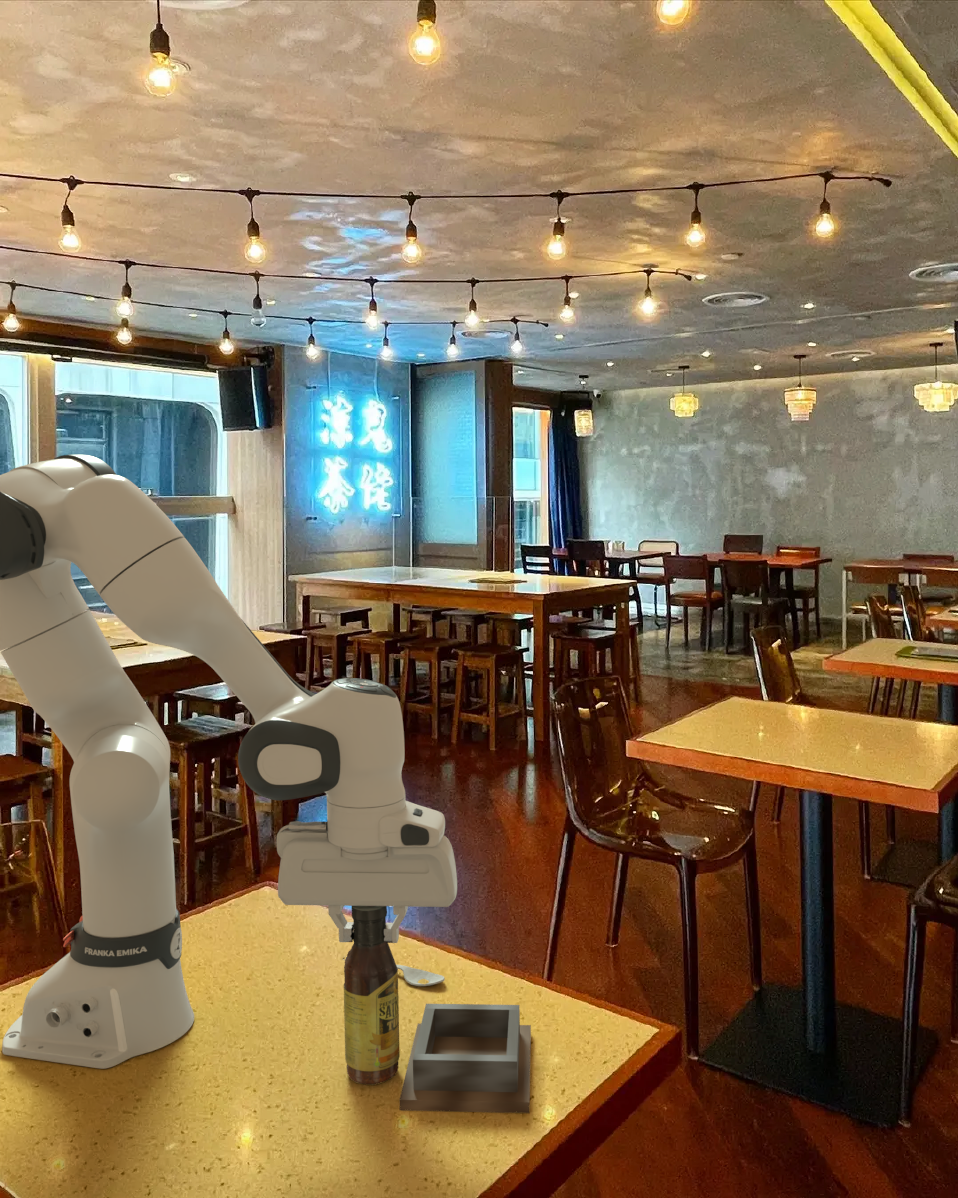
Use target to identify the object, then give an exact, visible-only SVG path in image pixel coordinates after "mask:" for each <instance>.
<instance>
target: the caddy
mask: <svg viewBox="0 0 958 1198" xmlns="http://www.w3.org/2000/svg"><path fill="white" fill-rule="evenodd" d="M424 1007H425V1008H424V1010H423V1014H422V1019H421V1022H420V1023H417V1025H416V1030H415V1034H414V1038H413V1042H412V1046H411V1050H410V1055H409V1057H408V1058H409V1059H408V1063H407V1066H406V1071H405V1074H404V1075H405V1076H404V1079H403V1084H402V1087H401V1088H402V1089H401V1091H400V1097H399V1099H398V1100H399V1111H409V1112H411V1111H414V1112H458V1113H459V1112H460V1113H462V1112H464V1113H467V1112H468V1113H500V1114H501V1113H507V1114H508V1113H511V1114H512V1113H513V1114H517V1113H518V1114H530V1109H531V1108H530V1106H531V1105H530V1101H531V1053H532V1052H531V1051H532V1050H531V1040H532V1039H531V1038H532V1029H531V1028H532V1027H531V1024H521V1020H520V1019H521V1018H520V1014H521V1013H520V1004H487V1003H486V1004H478V1003H477V1004H476V1003H475V1004H473V1003H470V1004H469V1003H466V1004H465V1003H425V1006H424Z"/></svg>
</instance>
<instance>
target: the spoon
mask: <svg viewBox="0 0 958 1198" xmlns="http://www.w3.org/2000/svg"><path fill="white" fill-rule="evenodd" d="M396 966H397V968H398V970H401V971H402V973H403V978H404V980H405V981H406V983H408V984H410V985H412V986H416V987H427V986H428V987H429V986H433V985H437V984H440V983H442V982H444V981H445V976H444V975H441V974H438V973H434V972H431V971H427V970H423V969H418V968H415V967H410V966H407V965H401V964H396ZM421 980H426V981H428V982H427V983H419V981H421Z"/></svg>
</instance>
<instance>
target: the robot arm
mask: <svg viewBox="0 0 958 1198" xmlns="http://www.w3.org/2000/svg"><path fill="white" fill-rule="evenodd" d="M72 563H73V564H74V565H75V566H76V567H78V569H79V570H80V571H81V572H82V573H83V574H84V576H85V577H86V579H87V580H88V582H89V583H90V585H91V586H92V587H93V588H94V590H95V591H96V593H97V594H98V595H99V596H100V598H101V599H102V600H103V602H104V603H105V604H106V606H107V607H108V608H109V609H110V610H111V612H112V613H113V614H114V615H115V617H117V619H118V620H120V622H122V624H124V625H125V626H126V627H127V628H129V630H131V631H132V632H133V633H134V634H135V635H137V636H138V637H139V638H140V639H141V640H143V641H146V642H148V643H151V644H154V645H159V646H165V647H170V648H172V649H177V650H180V651H183V652H186V653H188V654H190V655H193V656H195V657H197V658H199V659H200V660H201V661H203V662H204V663H206V664H207V665H208V666H209V667H211V669H213V670H214V672H215V673H216V674H217V675H218V676H219V677H220V678H221V680H222V681H223V682H224V683H225V685H226V686H227V687H228V688H229V689H230V690H231V692H232V693H233V694H234V695H235V696H236V697H237V698H238V699H239V701H240V702H241V703H242V704H243V705H244V707H245V708H246V709H247V710H248V711H249V712H250V714H251V716H252V718H253V719H254V723H255V724H254V725H252V726H251V728H249V730H248V732H247V733H245V735H244V737H243V738H242V740H241V743H240V745H239V749H238V753H237V762H238V769H239V772H240V774H241V777H242V779H243V781H244V782H245V783H246V785H247V786H248V787H249V788H250V790H251V791H253V792H255V793H256V794H257V795H258V796H261V797H263V798H265V799H269V800H274V801H287V800H294V799H300V798H306V797H311V796H317V795H320V794H322V793H325V794H326V815H327V816H326V817H327V818H326V819H327V821H309V822H303V821H290V822H289V823H288V824H286V825H285V826H282V827H281V828H280V829H279V830H278V832H277V834H276V851H277V854H278V856H279V857H280V862H279V863H280V864H279V872H278V880H277V881H278V882H277V885H278V886H277V895H278V898H279V900H280V901H281V902H282V903H283V905H285V906H286V905H287V906H327V907H328V911H327V912H328V917H330V919H331V920H332V922H333V924H334V925H335V926H336V928H337V929H338V941H339V943H354V941H353V936H354V927H353V921H348V920H347V919H346V917H345V915H344V913H343V912H342V911H343V910H344V907H346V906H347V907H348V906H349V907H350V906H351V907H352V906H387V907H392V909H393V910H392V911H393V915H395V918H394V920H393V922H386V925H385V927H384V936H385V937H384V943H388V944H398V942H399V937H400V928H399V927H400V926H401V924H402V922H403V921H404V919H405V917H406V915H407V912H408V909H409V908H411V907H412V908H413V907H414V908H416V907H417V908H418V907H419V908H425V907H426V908H429V907H430V908H448V907H450V906H451V905H452V904H453V903H454V901H455V900H456V897H457V894H458V877H457V876H458V875H457V866H456V858H455V854H454V850H453V849H454V848H453V846H452V843H451V842H450V839H449V838H447V836H446V835H445V830H446V819H445V815H444V814H443V812H441V811H438V810H435V809H432V808H429V807H426V806H423V805H420V804H416V803H413V802H411V801H408V800H406V789H405V787H404V786H405V785H404V783H403V778H402V772H403V771H402V770H403V766H404V763H405V731H404V721H403V713H402V708H401V703H400V701H399V698H398V696H397V694H396V693H395V692H394V691H393V690H392V688H391V687H389V686H388V685H385V684H383V683H380V682H378V681H375V680H370V679H366V678H364V679H363V678H359V677H358V678H356V677H355V678H352V677H351V678H348V677H347V678H346V677H345V678H338V679H335V680H333V681H331V683H330V684H329V685H328V686H326V687H325V688H323V689H322V690H321V691H319V692H317V693H314V692H312V691H310V690H309V689H307V688H305V687H304V686H302V685H301V684H299V683H298V682H297V681H295V680H294V679H293V677H292V676H290V674H288V672H287V671H286V670H285V669H284V667H283V666H282V665H281V664H280V663H279V662H278V661H277V659H276V658H275V657H274V656H273V654H271V652H270V651H269V650H268V648H267V647H266V646H265V645H264V644H263V643H262V642H261V640H260V639H259V638H258V637H257V635H256V634H255V633H254V632H253V631H252V630H251V629H250V627H249V626H248V625H247V624H246V623H245V621H244V620H243V619H242V618H241V617H240V615H239V614H238V612H237V611H236V609H235V608H234V606H233V605H232V603H231V602H230V601H229V600H228V598H227V596H226V595H225V594H224V592H223V591H222V589H221V588H220V586H219V585H218V583H217V582H216V580H215V577H213V575H212V573H211V572H210V571H209V569H208V567H207V566H206V564H205V563H204V562H203V560H202V559H201V557H200V556H199V555H198V553H197V552H196V550H195V549H194V547H193V546H192V545H191V543H190V542H189V541H188V540H187V538H185V535H184V534H183V533H182V532H181V531H180V530H179V528H178V527H177V526H176V525H175V523H174V522H173V521H172V520H171V519H170V518H169V517H168V515H167V514H166V513H165V512H164V511H163V510H162V509H161V508H160V507H159V506H158V505H157V504H156V503H155V502H154V501H153V500H152V498H150V496H148V495H147V494H146V493H145V492H144V491H142V490H141V488H139V487H138V486H137V485H136V484H135V483H134V482H132V481H131V480H130V479H128V478H126V477H124V476H121V475H119V474H117V473H116V471H114V470H113V468H112V467H111V466H110V465H109V464H107V463H106V462H105V461H103V460H102V459H101V458H98V457H95V456H93V455H89V454H78V453H77V454H63V455H59V456H57V457H55V458H53V459H47V460H43V461H37V462H32V463H28V464H23V465H21V466H17V467H15V468H12V469H11V470H9V471H8V472H5V473H2V474H0V654H1V656H2V658H3V660H4V661H5V663H6V665H7V666H8V668H9V670H10V672H11V673H12V675H13V677H14V679H15V680H16V682H17V683H18V685H19V687H20V689H21V690H22V692H23V694H24V696H25V698H26V699H27V701H28V703H29V704H30V706H31V708H32V709H33V710H34V712H35V713H36V714H37V715H39V716H40V718H41V719H43V720H44V721H45V723H46V724H47V725H48V727H49V728H50V729H51V730H52V732H53V733H54V734H55V735H56V737H57V738H58V739H59V741H60V742H61V744H62V745H63V746H64V747H65V749H66V750H67V752H68V754H69V755H70V757H71V759H72V760H73V765H72V767H71V770H70V773H69V774H70V775H69V791H70V804H71V813H72V821H73V828H74V829H73V831H74V836H75V843H76V849H77V855H78V862H79V873H80V875H79V876H80V888H81V890H80V891H81V908H82V909H81V910H82V911H81V913H82V915H81V916H80V918H79V920H78V921H79V922H78V923H76V924H75V925H74V926H72V927H71V928H70V930H69V931H70V932H69V933H67V934H66V935H65V937H63V939H62V941H64V943H63V946H62V947H63V948H66V947H67V946H69V944H70V948H71V949H70V951H69V952H68V953H67V954H65V955H64V956H63V957H62V958H61V959H59V960H58V961H57V962H56V963H55V964H53V966H51V967H50V968H49V969H47V971H45V972H44V973H43V974H42V975H41V976H40V977H39V978H38V979H37V980H36V981H35V982H34V983H33V985H32V986H31V988H30V989H29V991H28V992H27V994H26V996H25V998H24V1003H23V1009H22V1015H20V1016H19V1017H18V1018H17V1019H16V1020H15V1021H14V1022H13V1023H12V1024H11V1025H10V1027H9V1028H8V1030H7V1031H6V1033H5V1034H4V1036H3V1039H2V1054H3V1055H5V1056H12V1057H18V1058H25V1059H32V1060H39V1061H45V1062H46V1061H47V1062H52V1063H58V1064H59V1063H60V1064H67V1065H74V1066H80V1067H87V1068H92V1069H93V1068H95V1069H104V1070H105V1069H110V1068H112V1067H115V1066H116V1065H119V1064H121V1063H122V1062H125V1061H127V1060H128V1059H131V1058H134V1057H137V1056H140V1055H143V1054H148V1053H150V1052H154V1051H155V1050H156V1051H157V1050H159V1049H161V1048H163V1047H165V1046H167V1045H169V1044H171V1043H173V1042H175V1041H176V1040H178V1039H180V1038H181V1037H182V1036H184V1035H185V1034H187V1032H188V1031H189V1030H190V1029H191V1027H192V1026H193V1023H194V1021H195V1013H194V1011H193V1008H192V1005H191V1002H190V1000H189V997H188V996H189V995H188V993H187V990H186V989H187V988H186V985H185V980H184V975H183V969H182V963H181V957H182V950H183V934H182V927H181V916H180V915H181V914H180V911H179V910H178V909H177V901H176V900H177V899H176V878H175V876H176V875H175V873H176V872H175V854H174V844H173V843H174V842H173V830H172V829H173V828H172V816H171V815H172V812H171V796H170V770H171V769H170V768H171V764H170V763H171V755H172V754H171V747H170V746H171V745H170V743H169V740H168V738H167V737H166V735H165V733H164V731H163V729H162V728H161V726H160V724H159V722H158V721H157V719H156V717H155V716H154V714H153V713H152V711H151V709H150V708H149V707H148V705H147V703H146V701H145V700H144V698H143V697H142V696H141V694H140V693H139V690H138V689H137V688H136V686H135V684H134V683H133V682H132V680H131V679H130V677H129V676H128V675H127V673H126V672H125V670H124V669H123V667H122V665H121V664H120V662H119V660H118V659H117V656H116V655H115V653H114V651H113V649H112V648H111V646H110V643H109V641H108V640H107V638H106V637H105V635H104V633H103V631H102V629H101V628H100V626H99V623H98V622H97V620H96V619H95V616H94V615H93V613H92V612H91V611H92V610H90V608H89V606H88V604H87V603H86V601H85V599H84V597H83V595H82V594H81V593H80V591H79V589H78V587H77V586H76V584H75V582H74V579H73V577H72V572H71V566H72Z"/></svg>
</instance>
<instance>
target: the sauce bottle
mask: <svg viewBox="0 0 958 1198" xmlns="http://www.w3.org/2000/svg"><path fill="white" fill-rule="evenodd" d="M387 916H388V906H351V917H352V920H353V921H352V922H353V927H354V936H353V945H352V946H351V949H349V950H348V952H347V955H346V956H347V957H346V959H345V960H344V965H343V972H344V973H343V974H344V984H343V1010H344V1011H343V1013H344V1017H343V1018H344V1021H343V1022H344V1023H343V1024H344V1054H345V1055H344V1058H345V1059H344V1060H345V1063H346V1073H347V1076H348V1077H349V1080H351V1081H353V1082H354V1083H356V1084H361V1085H368V1086H370V1085H371V1086H375V1085H378V1084H382V1083H385V1082H387V1081H389V1080H390V1079H392V1078H394V1077H395V1076H396V1074H397V1073H398V1070H399V1060H400V1057H401V1056H400V1055H401V1054H400V1050H401V1049H400V1007H399V999H400V997H399V969H398V968H397V966H396V965H397V964H396V960H395V958H394V956H393V952H392V950H391V948H390V945H389V944H390V943H384V937H385V936H384V927H385V925H386V923H387V922H386V921H387V920H386V918H387Z"/></svg>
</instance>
